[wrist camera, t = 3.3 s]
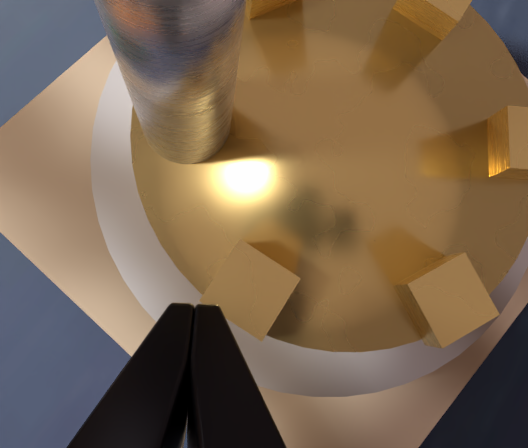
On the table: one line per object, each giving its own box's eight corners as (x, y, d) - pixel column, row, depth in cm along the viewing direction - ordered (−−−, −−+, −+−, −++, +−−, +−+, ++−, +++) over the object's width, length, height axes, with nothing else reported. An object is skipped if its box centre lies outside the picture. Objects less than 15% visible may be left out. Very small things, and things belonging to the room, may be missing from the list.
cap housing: (330, 538, 17) (357, 589, 14) (-42, 184, 17) (-95, 159, 14) (607, 176, 20) (675, 154, 17) (292, -109, 21) (306, -177, 18)
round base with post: (344, 436, 14) (763, 842, 4) (51, 161, 15) (-386, -237, 4) (570, 152, 17) (1228, -121, 6) (315, -78, 17) (500, -734, 6)
